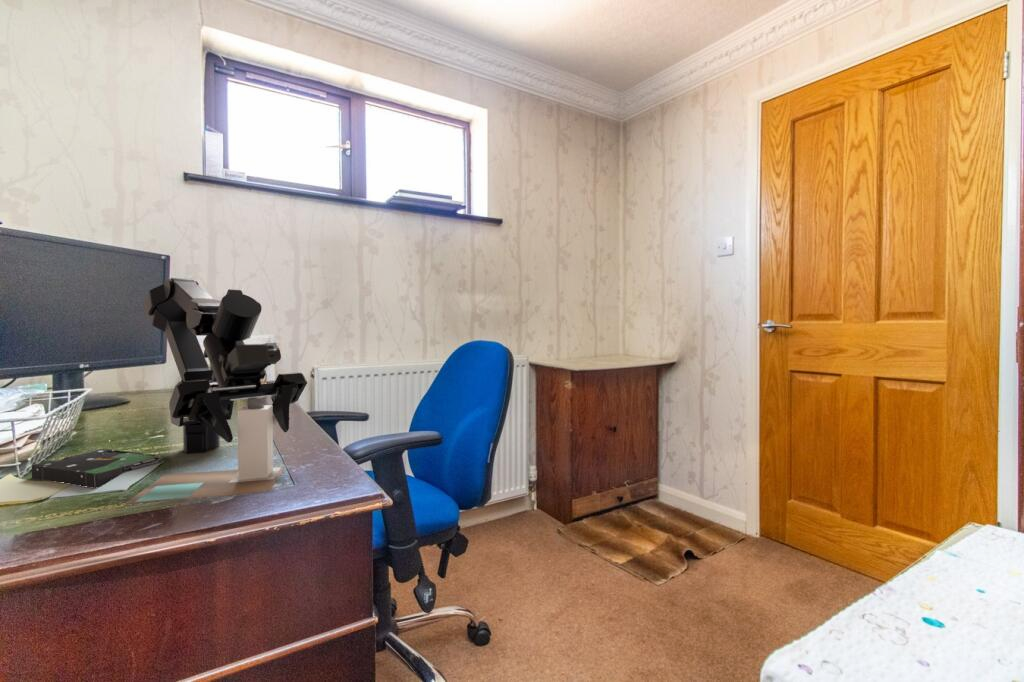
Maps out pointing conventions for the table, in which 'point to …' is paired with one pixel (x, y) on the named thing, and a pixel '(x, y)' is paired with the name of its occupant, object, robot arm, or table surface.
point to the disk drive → (92, 467)
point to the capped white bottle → (255, 439)
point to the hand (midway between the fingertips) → (260, 435)
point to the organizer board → (204, 486)
